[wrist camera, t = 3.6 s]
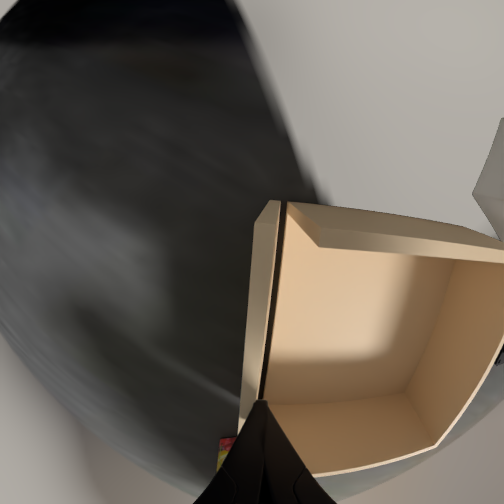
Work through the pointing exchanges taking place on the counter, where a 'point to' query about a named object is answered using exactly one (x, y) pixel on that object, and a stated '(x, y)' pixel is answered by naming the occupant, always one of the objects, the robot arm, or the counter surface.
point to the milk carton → (493, 184)
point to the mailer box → (379, 333)
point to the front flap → (258, 304)
